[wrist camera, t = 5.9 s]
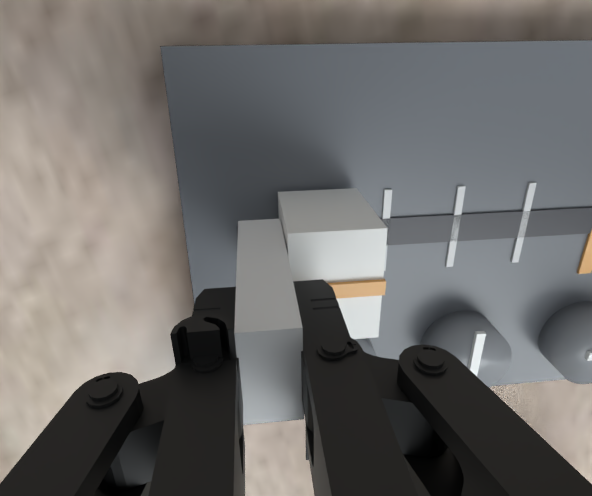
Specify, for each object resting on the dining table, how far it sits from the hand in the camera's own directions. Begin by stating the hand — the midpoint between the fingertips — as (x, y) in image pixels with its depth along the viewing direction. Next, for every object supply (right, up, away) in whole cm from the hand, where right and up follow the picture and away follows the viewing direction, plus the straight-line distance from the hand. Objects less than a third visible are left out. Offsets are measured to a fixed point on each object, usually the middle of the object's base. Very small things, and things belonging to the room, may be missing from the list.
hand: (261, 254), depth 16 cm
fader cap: (+2, +1, +2) cm, 3 cm away
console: (+9, +1, +5) cm, 10 cm away
